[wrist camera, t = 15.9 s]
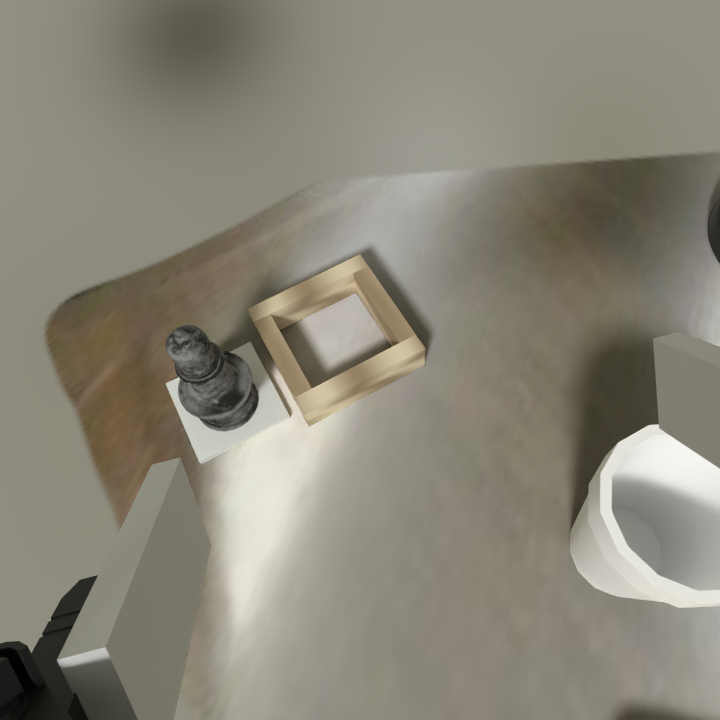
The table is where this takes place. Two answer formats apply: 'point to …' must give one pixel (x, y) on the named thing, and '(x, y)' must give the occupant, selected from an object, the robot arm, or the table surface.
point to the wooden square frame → (357, 379)
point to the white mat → (264, 418)
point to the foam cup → (652, 523)
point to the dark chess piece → (211, 380)
